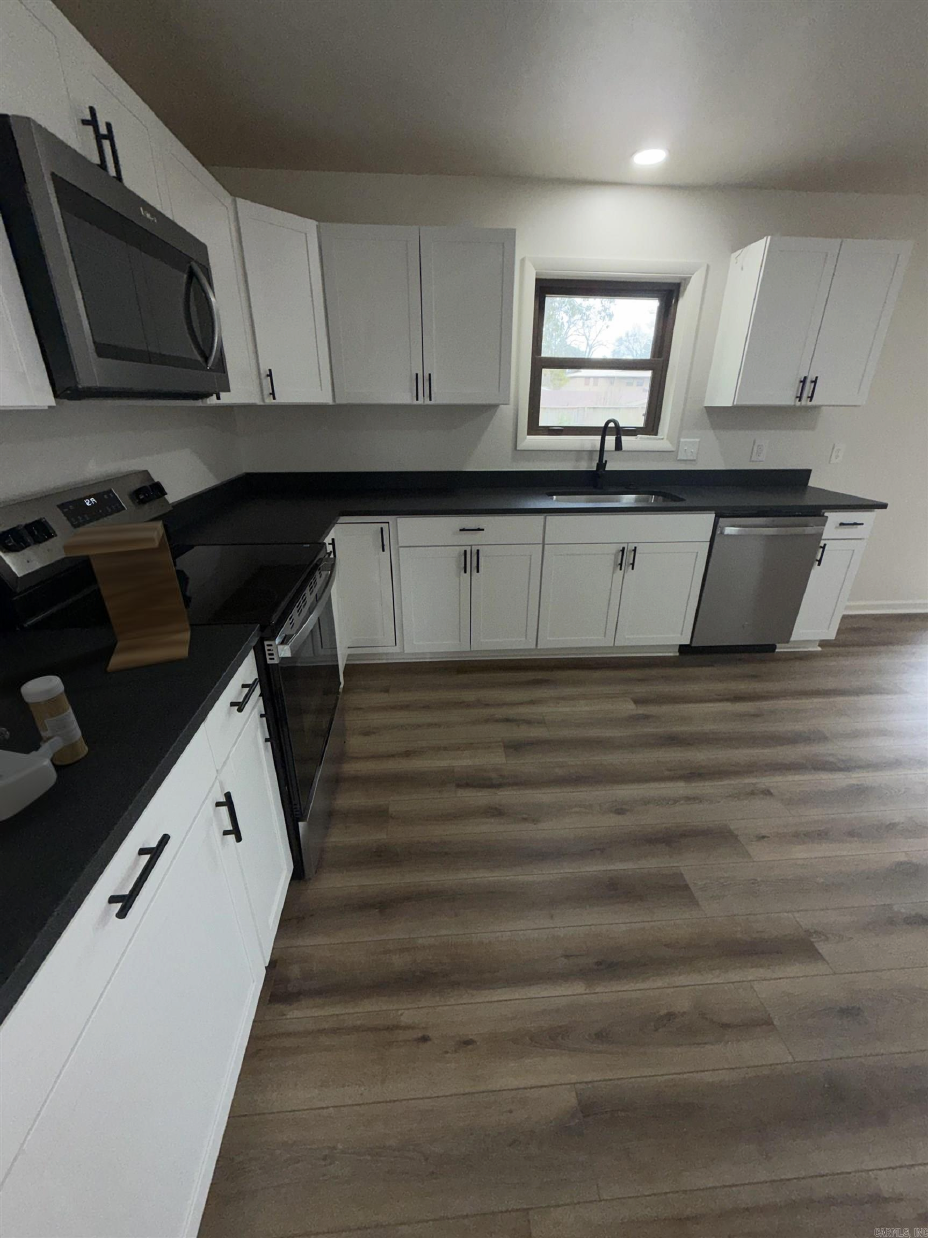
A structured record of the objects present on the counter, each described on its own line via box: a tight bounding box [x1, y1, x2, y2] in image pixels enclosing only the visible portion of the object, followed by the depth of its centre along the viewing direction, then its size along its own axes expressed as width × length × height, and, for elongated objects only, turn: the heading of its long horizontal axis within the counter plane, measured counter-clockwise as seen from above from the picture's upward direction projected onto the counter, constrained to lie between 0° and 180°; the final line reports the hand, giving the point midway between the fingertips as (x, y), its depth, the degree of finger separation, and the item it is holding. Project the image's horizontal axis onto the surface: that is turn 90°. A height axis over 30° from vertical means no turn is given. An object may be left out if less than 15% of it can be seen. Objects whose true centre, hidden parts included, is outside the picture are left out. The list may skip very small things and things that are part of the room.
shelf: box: [62, 519, 192, 673], centre depth 100 cm, size 14×14×27 cm
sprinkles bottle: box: [20, 675, 89, 766], centre depth 74 cm, size 5×5×14 cm
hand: (30, 735), depth 71 cm, fingers open, 8 cm apart
